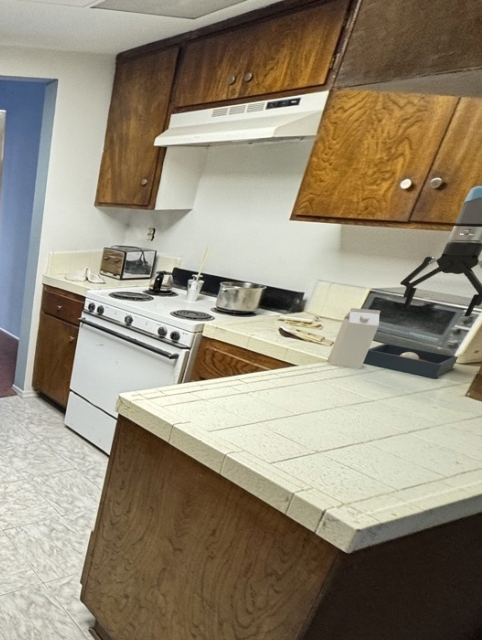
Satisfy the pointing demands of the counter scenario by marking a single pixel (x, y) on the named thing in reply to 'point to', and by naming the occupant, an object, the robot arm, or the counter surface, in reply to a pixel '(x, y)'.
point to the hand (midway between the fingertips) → (435, 312)
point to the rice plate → (411, 355)
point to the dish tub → (409, 360)
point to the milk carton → (354, 338)
